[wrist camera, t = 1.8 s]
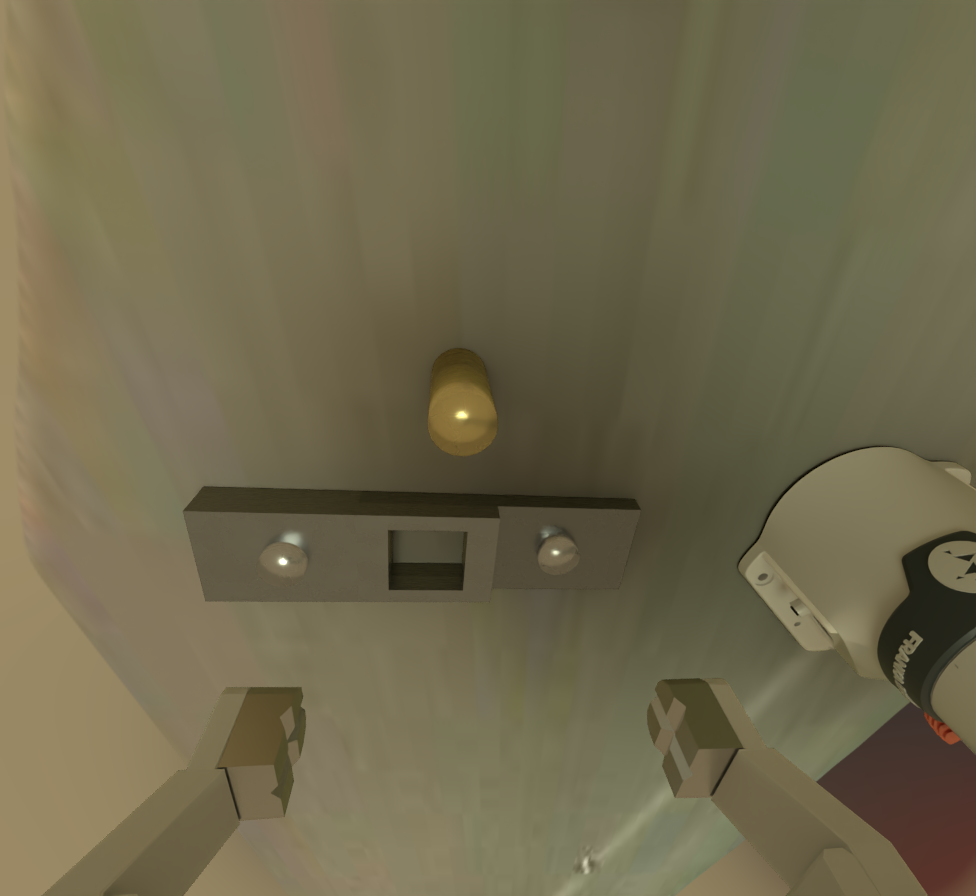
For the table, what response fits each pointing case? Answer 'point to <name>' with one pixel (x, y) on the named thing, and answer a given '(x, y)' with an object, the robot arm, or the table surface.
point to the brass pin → (461, 404)
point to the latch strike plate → (368, 544)
